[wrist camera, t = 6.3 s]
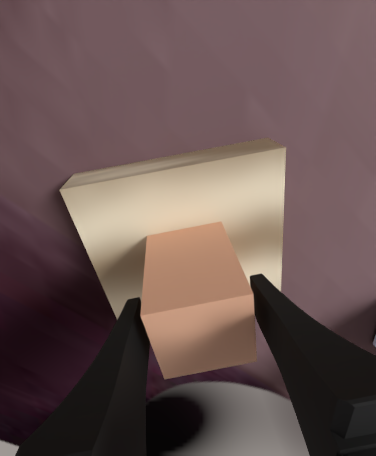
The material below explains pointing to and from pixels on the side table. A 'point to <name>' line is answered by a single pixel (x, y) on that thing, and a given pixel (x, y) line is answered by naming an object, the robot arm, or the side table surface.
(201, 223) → the birch base
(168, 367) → the terracotta block
